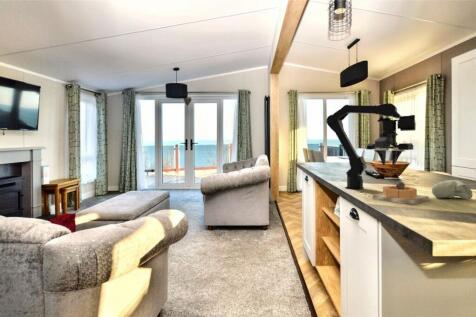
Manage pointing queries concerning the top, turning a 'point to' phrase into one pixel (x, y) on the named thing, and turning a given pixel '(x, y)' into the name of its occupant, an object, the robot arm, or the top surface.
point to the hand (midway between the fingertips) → (388, 165)
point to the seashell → (452, 189)
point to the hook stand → (401, 200)
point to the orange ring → (399, 192)
